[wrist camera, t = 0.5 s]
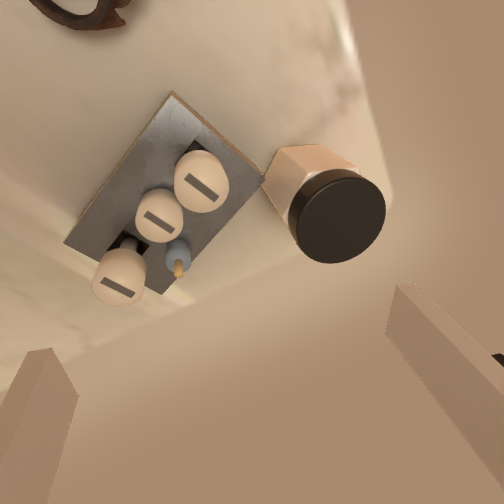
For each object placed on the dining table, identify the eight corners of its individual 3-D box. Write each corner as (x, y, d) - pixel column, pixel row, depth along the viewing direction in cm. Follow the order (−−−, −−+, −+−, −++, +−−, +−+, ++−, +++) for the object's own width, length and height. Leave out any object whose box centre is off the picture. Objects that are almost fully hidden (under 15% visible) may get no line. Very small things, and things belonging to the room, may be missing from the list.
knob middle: (136, 193, 34) (125, 226, 27) (158, 164, 33) (153, 191, 26) (167, 214, 36) (165, 251, 29) (189, 188, 35) (192, 219, 28)
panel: (77, 220, 34) (62, 243, 30) (172, 90, 30) (171, 95, 26) (163, 270, 39) (161, 294, 35) (255, 165, 35) (265, 179, 31)
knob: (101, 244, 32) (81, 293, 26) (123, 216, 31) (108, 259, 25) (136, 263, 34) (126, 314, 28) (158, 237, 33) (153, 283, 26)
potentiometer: (161, 251, 33) (159, 276, 29) (175, 235, 32) (175, 258, 28) (180, 263, 34) (181, 288, 30) (194, 247, 33) (197, 271, 29)
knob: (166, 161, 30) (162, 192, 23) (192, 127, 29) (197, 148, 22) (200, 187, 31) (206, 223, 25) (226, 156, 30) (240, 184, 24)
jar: (260, 216, 38) (290, 271, 28) (258, 147, 34) (292, 183, 24) (330, 208, 40) (382, 258, 30) (337, 140, 35) (400, 172, 25)
